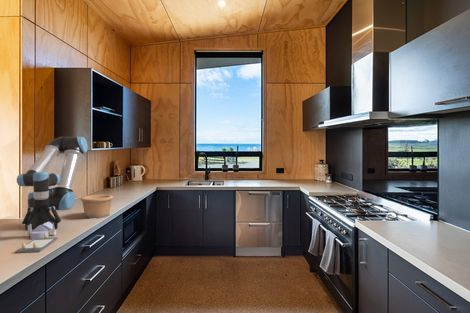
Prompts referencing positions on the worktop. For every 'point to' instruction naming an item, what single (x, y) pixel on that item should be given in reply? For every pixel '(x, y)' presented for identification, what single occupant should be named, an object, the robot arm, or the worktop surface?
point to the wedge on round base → (41, 230)
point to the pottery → (96, 205)
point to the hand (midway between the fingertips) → (42, 235)
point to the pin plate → (36, 244)
